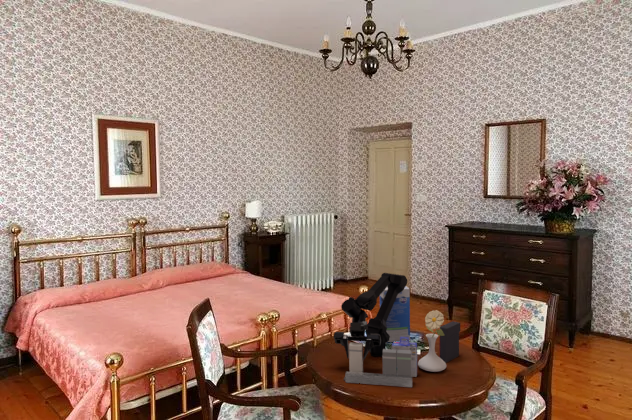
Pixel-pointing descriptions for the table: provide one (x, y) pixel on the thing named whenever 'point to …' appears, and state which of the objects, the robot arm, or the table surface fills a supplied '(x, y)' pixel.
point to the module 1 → (356, 357)
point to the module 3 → (404, 362)
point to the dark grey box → (449, 341)
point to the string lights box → (398, 316)
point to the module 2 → (389, 361)
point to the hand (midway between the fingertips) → (355, 358)
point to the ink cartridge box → (407, 346)
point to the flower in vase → (433, 343)
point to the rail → (378, 379)
